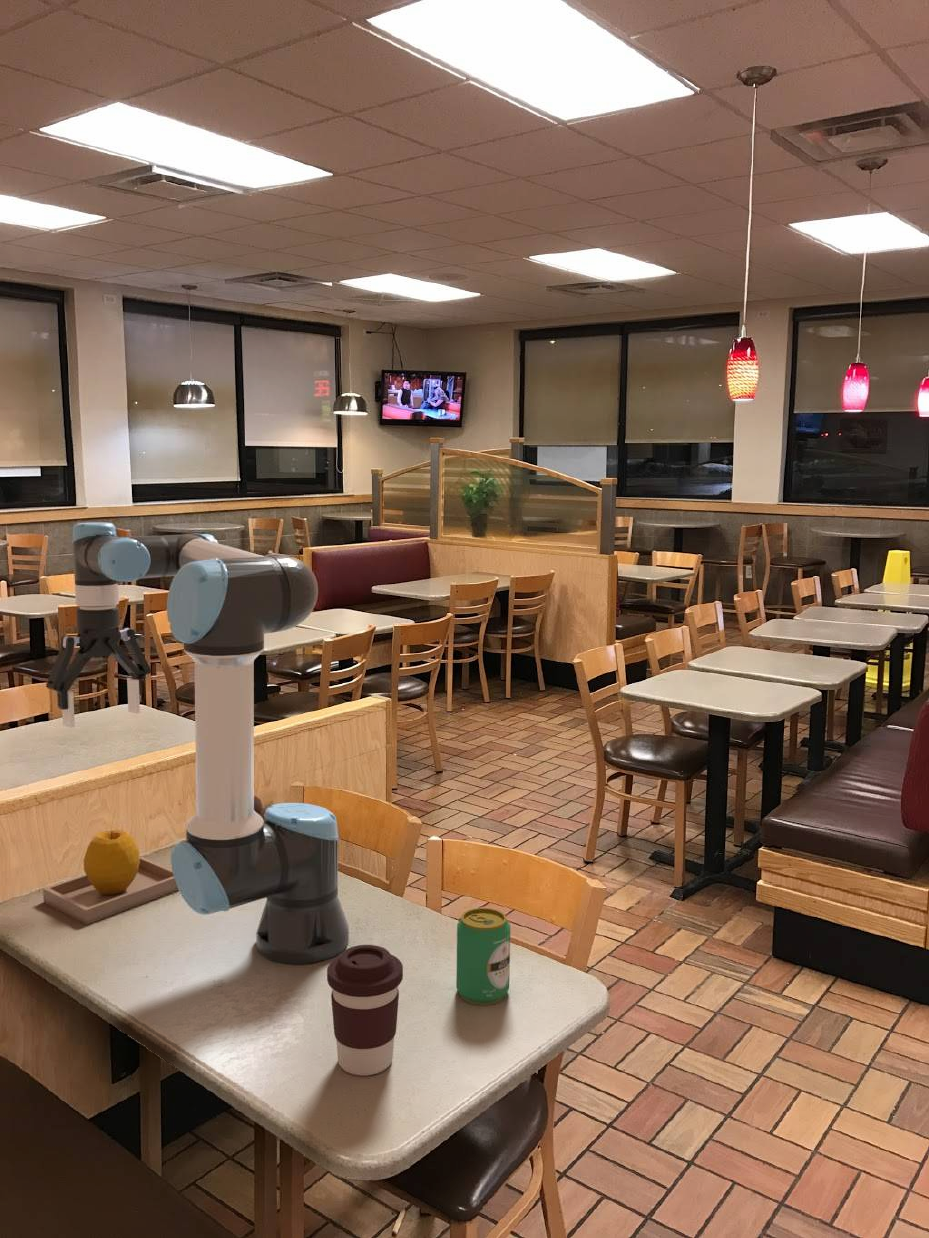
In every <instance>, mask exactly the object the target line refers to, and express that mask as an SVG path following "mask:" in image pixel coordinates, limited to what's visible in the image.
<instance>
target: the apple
mask: <svg viewBox="0 0 929 1238" xmlns="http://www.w3.org/2000/svg"><path fill="white" fill-rule="evenodd" d="M139 851H140V850H139V847H138V845H137V843H136V841H135V839H134V838H133V836H131V834H130V833H128V832H127V831H125V830H122V829H121V830H120V829H113V830H104V831H101V832H100V833H98V834H96V835H95V836H94V837H92V839H91V841H90V842H89V845H88V846H87V848H86V851H85V855H84V858H83V869H84V873H85V874H86V875H87V877H88V879H89V881H90V882H91V884H92V885H93V886H94V888H95V889H96V890H97V891H98V892H99V893H101V894H104V895H109V894H116V893H120V892H122V891H124V890H126V889H127V888H128V887H129V885H130V884H131V883H132V882H133V880H134V878H135V876H136V874H137V872H138V868H139V864H140V856H141V855H140V852H139Z"/></svg>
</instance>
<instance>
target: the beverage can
mask: <svg viewBox="0 0 929 1238" xmlns="http://www.w3.org/2000/svg"><path fill="white" fill-rule="evenodd" d="M511 929H512V928H511V923H510V922H509V920H508V918H507V915H506V914H505V913H504V912H503V911H501V910H498V909H496V908H492V907H491V908H490V907H476V908H471V909H468V910H466V911H463V912H462V914H461V916H460V919H459V921H458V922H457V924H456V978H455V979H456V981H455V982H456V983H455V984H456V985H455V986H456V989H457V991H458V992H459V993H458V994H459V996H460V998H462V999H463V1001H466V1002H468V1003H470V1004H474V1005H479V1006H486V1005H494V1004H497V1003H499V1002H501V1001H503V1000H504V999H505V997H506V996H507V993H508V992H509V989H510V975H511V974H510V973H511V971H510V967H511V965H510V964H511V962H510V961H511Z"/></svg>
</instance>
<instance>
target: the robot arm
mask: <svg viewBox="0 0 929 1238" xmlns="http://www.w3.org/2000/svg"><path fill="white" fill-rule="evenodd" d="M71 546H72V555H73V572H74V575H73V576H74V577H73V578H74V591H75V605H76V606H77V607H78V608H77V609H76V610H75V617H76V618H75V619H76V620H75V621H76V629H77V636H67V635H63V636H62V637H61V638H60V648H59V650H58V651H59V652H58V654H57V657H56V659H55V662H54V664H53V666H52V669H51V671H50V673H49V676H48V679H47V681H46V683H45V684H46V685H45V687H46V688H47V689H48V690H52V691H55V692H56V693H57V695H56V696H57V697H56V698H57V707H58V709H59V710H61V711H62V712H61V713H62V714H61V715H62V716H61V717H62V725H63V726H65V727H67V728H74V727H76V726H75V705H74V691H72V690H70V689H71V688H72V686H73V684H74V683H75V681H76V680H77V678H78V677H79V676H80V673H81V672H82V670H84V668H85V666H86V664H87V663H88V662H90V661H91V660H92V659H97V658H100V657H110V656H112V657H113V658H114V660H116V662H118V663H119V665H120V666H121V667H122V668H123V669H124V670H125V672H127V673H128V675H129V676H131V677H127V679H126V683H127V707H128V709H127V710H128V712H129V713H134V714H140V713H141V708H140V707H141V706H140V696H141V695H142V694H143V680H144V679H145V680H146V678H147V677H146V676H147V675H150V674H151V672H152V668H151V667H150V664H149V663H148V660H147V658H146V657H145V655H144V653H143V651H142V650H141V647H140V645H139V643H138V641H137V639H136V631H135V629H133V628H129V627H123V628H122V629H121V630H120V628H119V627H120V624H121V623H120V622H121V621H120V608H119V607H118V605H119V604H120V598H119V597H120V595H119V594H120V593H119V582H120V583H123V582H126V583H128V582H129V583H130V582H135V581H138V580H140V579H151V578H152V579H153V578H165V577H173V579H172V581H171V583H170V586H169V590H168V594H167V601H166V617H167V621H168V622H169V629H170V632H171V634H172V636H173V637H174V639H176V640H177V641H178V642H180V643H182V644H183V652H184V653H185V654H187V655H188V656H189V658H191V659H192V661H193V662H194V715H195V716H194V721H195V723H194V726H195V727H194V728H195V730H194V732H195V788H196V789H195V798H196V799H195V805H196V806H195V810H196V812H195V814H194V815H193V816H191V817H190V818H189V819H188V820H187V822H186V825H185V833H186V835H185V838H186V839H185V840H179V841H178V842H177V843H175V844H174V845H173V849H171V854H170V862H171V864H170V865H171V869H172V871H173V875H174V878H175V881H176V884H177V887H178V889H179V890H178V891H179V893H180V894H181V897H182V898H183V900H184V902H185V903H186V904H187V905H188V907H189V908H191V910H192V911H194V912H195V913H197V914H199V915H203V916H205V915H211V914H215V913H219V912H227V911H229V910H230V909H231V910H232V909H234V908H237V907H240V906H243V905H246V904H248V903H249V904H250V903H252V902H256V901H259V900H262V899H265V898H266V901H265V905H264V907H263V911H262V914H261V917H260V920H259V924H258V926H257V929H256V949H257V951H258V953H259V954H260V955H262V957H265V958H267V959H268V960H271V961H274V962H278V963H282V964H289V965H290V964H291V965H298V964H299V965H304V964H311V963H312V964H314V963H317V962H322V961H325V960H329V959H331V958H333V957H335V956H337V955H339V954H341V953H342V952H343V951H345V950H346V949H347V947H348V944H349V941H350V939H349V938H350V937H349V936H350V931H349V929H350V928H349V924H348V920H347V918H346V915H345V913H344V909H343V906H342V904H341V901H340V898H339V871H338V869H339V863H338V861H339V857H338V856H339V853H338V851H339V849H338V846H339V844H338V843H339V839H340V836H339V829H338V822H337V818H336V816H335V814H334V813H333V812H332V811H330V810H329V809H328V808H325V807H323V806H319V805H315V804H310V803H305V802H303V803H302V802H281V803H280V802H279V803H276V804H272V805H269V806H268V807H267V808H265V809H266V811H265V814H264V818H265V821H264V820H263V818H262V817H261V816H260V815H259V814H258V813H256V812H255V811H254V796H255V789H254V788H255V781H254V780H255V775H254V774H255V771H254V770H255V766H254V765H255V763H254V761H255V757H254V756H255V754H254V753H255V750H254V749H255V743H254V742H255V738H254V737H255V735H254V734H255V728H254V727H255V726H254V725H255V723H254V722H255V718H254V716H255V713H254V712H255V708H254V707H255V706H254V705H255V704H254V703H255V699H254V698H255V694H254V693H255V692H254V690H255V689H254V687H255V682H254V679H255V677H254V676H255V675H254V673H255V671H254V670H255V669H254V668H255V667H254V666H255V665H254V662H255V660H256V659H257V658H258V657H259V655H261V654H262V653H263V652H264V649H265V634H273V633H278V632H284V631H288V630H290V629H293V628H295V627H297V626H299V625H300V624H302V623H303V622H304V621H305V620H306V619H307V618H308V617H309V616H310V615H311V613H312V612H313V611H314V609H315V606H316V604H317V602H318V601H317V600H318V596H319V595H318V594H319V585H318V581H317V577H316V576H315V573H314V572H313V571H312V569H311V568H310V567H309V566H308V565H307V564H306V562H303V561H302V560H300V559H298V558H296V557H293V556H288V555H285V554H282V553H281V554H280V553H270V554H267V555H261V554H257V553H254V552H250V551H247V550H243V549H240V548H236V547H233V546H230V545H225V544H221V543H219V542H218V540H217V539H216V538H215V537H214V535H212V534H209V533H195V532H193V533H186V534H171V535H170V534H169V535H168V534H167V535H140V536H139V535H137V536H136V535H135V536H118V534H117V529H116V526H115V525H114V523H112V522H104V521H103V522H97V521H96V522H95V521H94V522H92V521H91V522H89V521H88V522H78V523H76V524H74V526H73V527H72V542H71ZM120 640H122V641H123V643H124V645H125V647H126V649H127V652H128V653H129V655H130V656H131V658H132V660H131V659H130V658H129V656H127V654H126V653H125V652H124V650H123V649H122V648H121V647H120V646H119V642H120ZM77 645H78V647H79V648H78V649H77V650H76V652H75V653H74V651H75V648H77ZM73 654H74V658H73V659H72V657H73ZM71 659H72V661H71Z"/></svg>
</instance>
